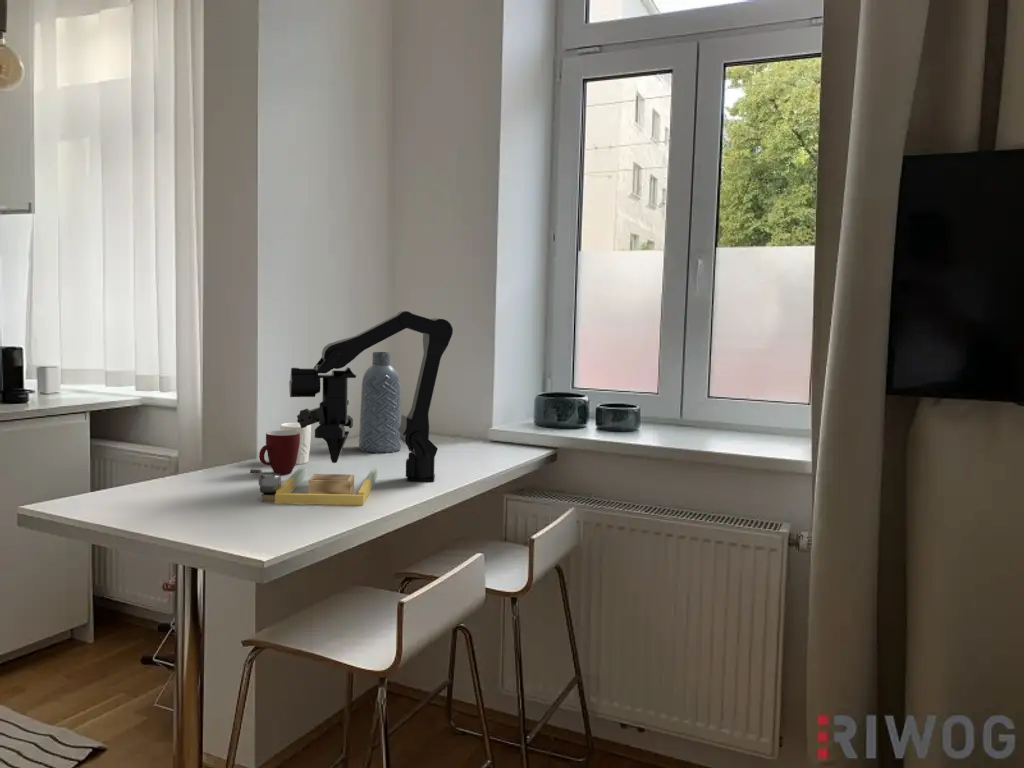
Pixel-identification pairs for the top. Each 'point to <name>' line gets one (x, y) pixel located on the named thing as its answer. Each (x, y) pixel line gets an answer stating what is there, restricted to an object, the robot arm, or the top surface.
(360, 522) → the top surface
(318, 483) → the box
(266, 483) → the winch
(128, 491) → the top surface
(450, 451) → the top surface
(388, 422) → the vase
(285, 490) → the bay
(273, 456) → the mug
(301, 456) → the white cup
